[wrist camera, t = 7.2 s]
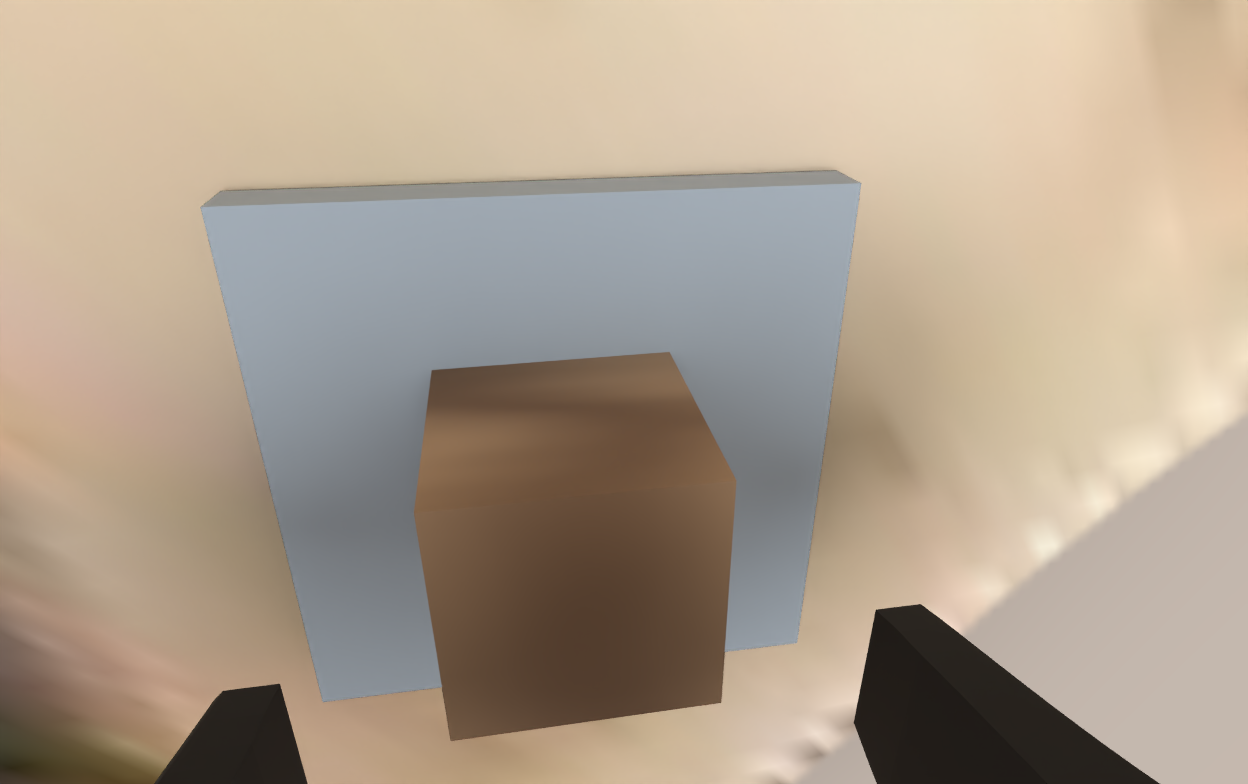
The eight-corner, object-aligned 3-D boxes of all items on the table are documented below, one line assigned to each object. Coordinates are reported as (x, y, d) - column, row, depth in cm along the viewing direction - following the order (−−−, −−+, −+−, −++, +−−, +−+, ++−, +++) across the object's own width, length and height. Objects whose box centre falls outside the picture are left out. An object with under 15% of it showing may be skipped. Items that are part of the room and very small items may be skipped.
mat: (330, 664, 17) (322, 701, 16) (221, 191, 12) (200, 207, 11) (781, 611, 18) (797, 642, 17) (836, 170, 14) (860, 182, 13)
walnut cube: (457, 561, 15) (450, 740, 11) (432, 369, 13) (413, 513, 9) (665, 538, 15) (721, 703, 12) (669, 351, 13) (736, 480, 10)
